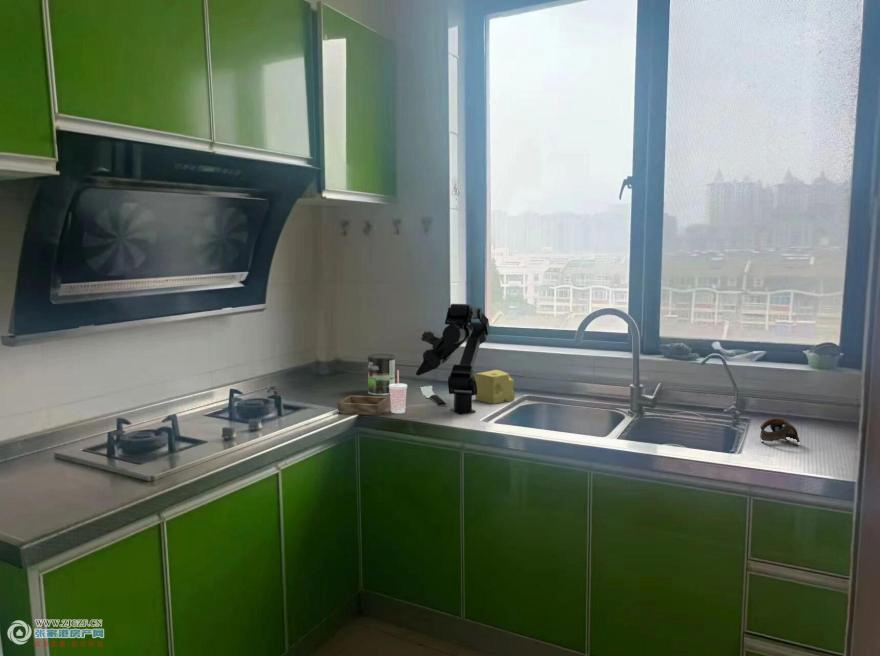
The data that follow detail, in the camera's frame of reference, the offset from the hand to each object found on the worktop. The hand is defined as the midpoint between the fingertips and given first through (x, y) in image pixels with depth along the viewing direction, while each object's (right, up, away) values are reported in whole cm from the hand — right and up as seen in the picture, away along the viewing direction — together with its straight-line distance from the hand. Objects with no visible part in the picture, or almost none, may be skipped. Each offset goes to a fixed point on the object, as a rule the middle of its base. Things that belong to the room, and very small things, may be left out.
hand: (420, 372), depth 209 cm
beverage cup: (-7, -13, +3) cm, 16 cm away
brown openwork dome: (+101, -18, -31) cm, 107 cm away
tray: (-19, -13, +5) cm, 24 cm away
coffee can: (-16, -10, +33) cm, 38 cm away
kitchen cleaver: (+2, -11, +26) cm, 28 cm away
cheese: (+26, -12, +21) cm, 36 cm away
